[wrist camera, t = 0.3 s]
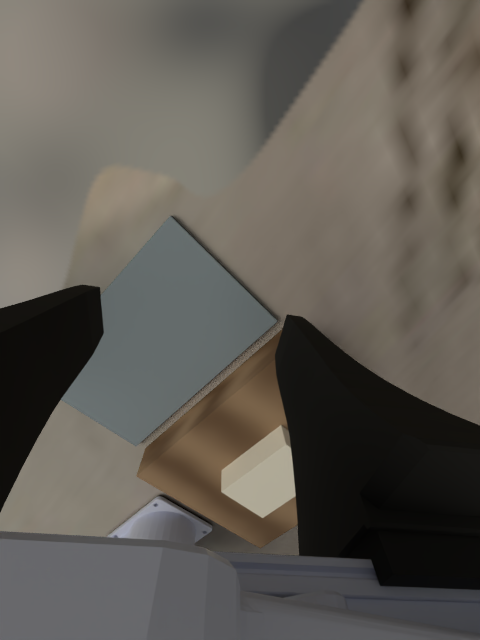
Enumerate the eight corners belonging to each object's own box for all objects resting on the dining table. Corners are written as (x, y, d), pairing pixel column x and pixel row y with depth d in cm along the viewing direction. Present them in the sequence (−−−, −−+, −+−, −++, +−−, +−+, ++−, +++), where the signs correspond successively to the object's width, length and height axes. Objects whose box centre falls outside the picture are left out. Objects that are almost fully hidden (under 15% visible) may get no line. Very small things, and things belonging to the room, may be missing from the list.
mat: (137, 442, 26) (136, 446, 26) (30, 376, 23) (27, 379, 23) (276, 319, 22) (277, 321, 22) (171, 215, 19) (170, 215, 18)
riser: (257, 518, 32) (260, 548, 29) (145, 448, 27) (136, 476, 24) (388, 429, 27) (407, 455, 25) (284, 327, 22) (292, 344, 20)
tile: (259, 495, 26) (262, 518, 24) (221, 470, 24) (221, 492, 22) (318, 455, 24) (326, 475, 22) (281, 424, 23) (286, 444, 21)
